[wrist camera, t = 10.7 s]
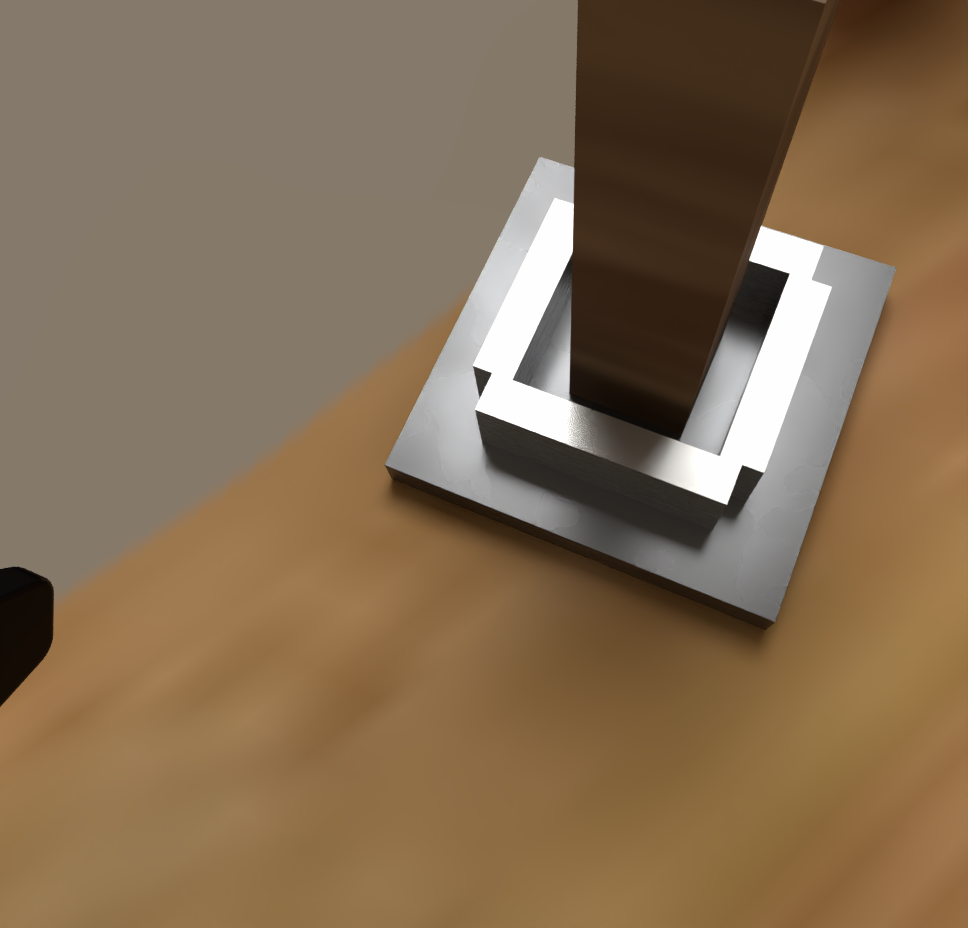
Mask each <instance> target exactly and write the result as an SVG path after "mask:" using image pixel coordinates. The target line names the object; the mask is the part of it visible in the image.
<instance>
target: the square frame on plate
mask: <svg viewBox="0 0 968 928" xmlns="http://www.w3.org/2000/svg"><path fill="white" fill-rule="evenodd" d="M573 205H574V167H571V166H567V165H564V164H561V163H558V162H554V161H551V160H548V159H545V158H542V157H540V158H539V160H538V162H537V164H536V166H535V168H534V169H533V171H532V174H531V176H530V177H529V180H528V181H527V183H526V185H525V187H524V189H523V191H522V193H521V195H520V197H519V199H518V201H517V203H516V205H515V207H514V209H513V211H512V213H511V215H510V217H509V219H508V221H507V223H506V225H505V227H504V229H503V231H502V233H501V235H500V237H499V239H498V241H497V243H496V245H495V247H494V249H493V251H492V253H491V255H490V257H489V259H488V261H487V263H486V265H485V267H484V269H483V271H482V273H481V275H480V277H479V279H478V281H477V283H476V285H475V287H474V289H473V291H472V293H471V295H470V297H469V299H468V301H467V303H466V305H465V307H464V309H463V311H462V313H461V315H460V316H459V318H458V320H457V322H456V324H455V326H454V328H453V330H452V332H451V334H450V336H449V338H448V340H447V342H446V344H445V346H444V348H443V350H442V352H441V354H440V356H439V358H438V360H437V362H436V364H435V366H434V368H433V370H432V372H431V374H430V376H429V378H428V380H427V382H426V384H425V386H424V388H423V390H422V392H421V394H420V396H419V398H418V400H417V402H416V404H415V406H414V408H413V410H412V412H411V414H410V416H409V418H408V420H407V422H406V424H405V426H404V428H403V430H402V432H401V434H400V436H399V438H398V440H397V442H396V444H395V446H394V448H393V450H392V452H391V454H390V456H389V458H388V460H387V462H386V464H385V466H386V468H387V470H388V472H389V474H390V476H391V478H392V479H395V480H397V481H400V482H402V483H405V484H407V485H410V486H412V487H415V488H417V489H420V490H422V491H425V492H427V493H430V494H432V495H434V496H437V497H439V498H442V499H444V500H447V501H449V502H452V503H454V504H457V505H459V506H462V507H464V508H467V509H469V510H472V511H474V512H477V513H479V514H481V515H484V516H486V517H489V518H491V519H494V520H496V521H499V522H501V523H504V524H506V525H509V526H511V527H514V528H516V529H519V530H521V531H523V532H526V533H528V534H531V535H533V536H536V537H538V538H541V539H543V540H546V541H548V542H551V543H553V544H556V545H558V546H561V547H563V548H565V549H568V550H570V551H573V552H575V553H578V554H580V555H583V556H585V557H588V558H590V559H593V560H595V561H598V562H600V563H603V564H605V565H607V566H610V567H612V568H615V569H617V570H620V571H622V572H625V573H627V574H630V575H632V576H635V577H637V578H640V579H642V580H645V581H647V582H650V583H652V584H654V585H657V586H659V587H662V588H664V589H667V590H669V591H672V592H674V593H677V594H679V595H682V596H684V597H687V598H689V599H692V600H694V601H696V602H699V603H701V604H704V605H706V606H709V607H711V608H714V609H716V610H719V611H721V612H724V613H726V614H729V615H731V616H734V617H736V618H738V619H741V620H743V621H746V622H748V623H751V624H753V625H756V626H758V627H761V628H763V629H767V628H768V627H770V626H771V625H772V624H773V623H774V622H775V621H776V618H777V615H778V612H779V609H780V606H781V603H782V601H783V598H784V595H785V592H786V589H787V586H788V583H789V580H790V577H791V574H792V571H793V568H794V565H795V563H796V560H797V557H798V554H799V551H800V548H801V545H802V542H803V539H804V536H805V533H806V530H807V527H808V525H809V522H810V519H811V516H812V513H813V510H814V507H815V504H816V501H817V498H818V495H819V492H820V489H821V487H822V484H823V481H824V478H825V475H826V472H827V469H828V466H829V463H830V460H831V457H832V454H833V451H834V449H835V446H836V443H837V440H838V437H839V434H840V431H841V428H842V425H843V422H844V419H845V416H846V413H847V411H848V408H849V405H850V402H851V399H852V396H853V393H854V390H855V387H856V384H857V381H858V378H859V375H860V372H861V370H862V367H863V364H864V361H865V358H866V355H867V352H868V349H869V346H870V343H871V340H872V337H873V334H874V332H875V329H876V326H877V323H878V320H879V317H880V314H881V311H882V308H883V305H884V302H885V299H886V296H887V294H888V291H889V288H890V285H891V282H892V279H893V276H894V273H895V270H896V267H893V266H890V265H886V264H883V263H880V262H877V261H873V260H870V259H867V258H864V257H861V256H857V255H854V254H851V253H848V252H844V251H841V250H838V249H835V248H832V247H828V246H825V245H822V244H819V243H815V242H812V241H809V240H806V239H803V238H799V237H796V236H793V235H790V234H786V233H783V232H780V231H777V230H774V229H770V228H767V227H764V226H761V228H760V231H759V234H758V237H757V240H756V243H755V246H754V248H753V251H752V254H751V257H750V260H749V263H748V266H747V268H746V271H745V274H744V277H743V280H742V283H741V286H740V288H739V291H738V294H737V297H736V300H735V303H734V306H733V308H732V311H731V314H730V317H729V320H728V323H727V326H726V329H725V331H724V334H723V337H722V339H721V342H720V344H719V346H718V349H717V351H716V354H715V356H714V359H713V361H712V364H711V366H710V368H709V371H708V373H707V376H706V378H705V381H704V383H703V385H702V388H701V390H700V393H699V395H698V398H697V400H696V402H695V405H694V407H693V410H692V412H691V415H690V417H689V419H688V422H687V424H686V427H685V429H684V432H683V434H682V435H680V434H678V433H675V432H672V431H670V430H667V429H664V428H662V427H659V426H657V425H654V424H651V423H649V422H646V421H643V420H641V419H638V418H635V417H633V416H630V415H627V414H625V413H622V412H619V411H617V410H614V409H611V408H609V407H606V406H603V405H601V404H598V403H595V402H593V401H590V400H587V399H585V398H582V397H579V396H577V395H574V394H571V393H569V383H570V339H571V294H572V250H573Z"/></svg>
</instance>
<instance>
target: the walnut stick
mask: <svg viewBox="0 0 968 928" xmlns="http://www.w3.org/2000/svg"><path fill="white" fill-rule="evenodd" d="M839 2H840V0H578V27H577V29H578V31H577V71H576V73H577V74H576V116H575V119H576V120H575V163H574V205H573V250H572V294H571V339H570V383H569V393H571V394H574V395H577V396H579V397H582V398H585V399H587V400H590V401H593V402H595V403H598V404H601V405H603V406H606V407H609V408H611V409H614V410H617V411H619V412H622V413H625V414H627V415H630V416H633V417H635V418H638V419H641V420H643V421H646V422H649V423H651V424H654V425H657V426H659V427H662V428H664V429H667V430H670V431H672V432H675V433H678V434H680V435H682V434H683V432H684V429H685V427H686V424H687V422H688V419H689V417H690V415H691V412H692V410H693V407H694V405H695V402H696V400H697V398H698V395H699V393H700V390H701V388H702V385H703V383H704V381H705V378H706V376H707V373H708V371H709V368H710V366H711V364H712V361H713V359H714V356H715V354H716V351H717V349H718V346H719V344H720V342H721V339H722V337H723V334H724V331H725V329H726V326H727V323H728V320H729V317H730V314H731V311H732V308H733V306H734V303H735V300H736V297H737V294H738V291H739V288H740V286H741V283H742V280H743V277H744V274H745V271H746V268H747V266H748V263H749V260H750V257H751V254H752V251H753V248H754V246H755V243H756V240H757V237H758V234H759V231H760V228H761V225H762V223H763V220H764V217H765V214H766V211H767V208H768V205H769V203H770V200H771V197H772V194H773V191H774V188H775V185H776V183H777V180H778V177H779V174H780V171H781V168H782V165H783V163H784V160H785V157H786V154H787V151H788V148H789V145H790V142H791V140H792V137H793V134H794V131H795V128H796V125H797V122H798V120H799V117H800V114H801V111H802V108H803V105H804V102H805V100H806V97H807V94H808V91H809V88H810V85H811V82H812V80H813V77H814V74H815V71H816V68H817V65H818V62H819V59H820V57H821V54H822V51H823V48H824V45H825V42H826V39H827V37H828V34H829V31H830V28H831V25H832V22H833V19H834V17H835V14H836V11H837V8H838V5H839Z"/></svg>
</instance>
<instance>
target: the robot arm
mask: <svg viewBox="0 0 968 928" xmlns="http://www.w3.org/2000/svg"><path fill="white" fill-rule="evenodd" d="M53 614H54V589H53V586H52V584H51V582H50V581H49V580H48V579H47V578H44V577H43V576H40V575H38V574H36V573H34V572H32V571H29V570H27V569H25V568H21V567H9V568H4V569H0V707H1V706H2V704H3V703H4V702H5V701H6V700H7V699H8V698H9V697H10V696H11V694H12V693H13V692H14V691H15V690H16V689H17V688H18V687H19V686H20V685H21V683H22V682H23V681H24V680H25V679H26V678H27V677H28V676H29V675H30V673H31V672H32V671H33V670H34V669H35V668H36V667H37V666H38V665H39V663H40V662H41V661H42V660H43V659H44V657H45V656H46V654H47V653H48V651H49V649H50V647H51V643H52V640H53Z"/></svg>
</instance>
